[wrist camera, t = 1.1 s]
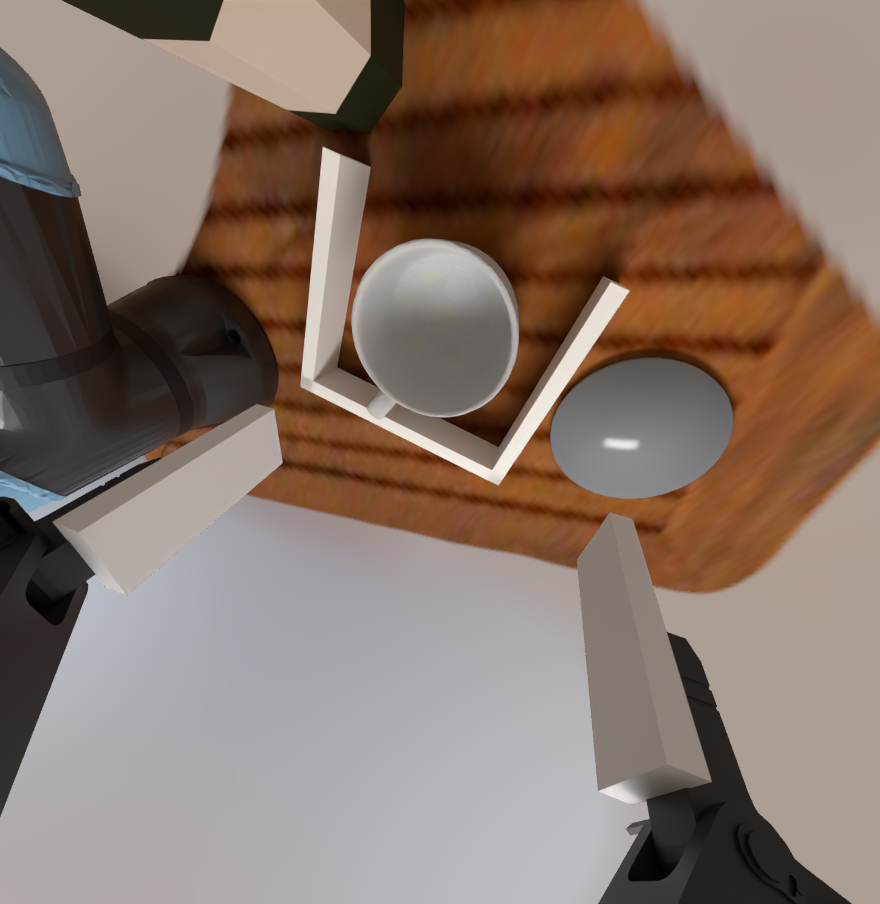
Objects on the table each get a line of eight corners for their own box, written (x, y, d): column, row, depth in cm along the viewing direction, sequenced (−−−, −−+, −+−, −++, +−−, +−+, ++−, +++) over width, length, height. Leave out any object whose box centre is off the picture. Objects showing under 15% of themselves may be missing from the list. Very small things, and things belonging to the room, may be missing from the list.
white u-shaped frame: (325, 372, 33) (300, 386, 30) (355, 160, 23) (322, 146, 20) (504, 461, 32) (498, 485, 29) (619, 283, 22) (629, 290, 19)
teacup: (472, 200, 22) (438, 184, 16) (554, 333, 25) (554, 365, 19) (353, 327, 30) (296, 350, 23) (426, 418, 32) (394, 461, 26)
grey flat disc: (524, 454, 31) (523, 458, 31) (612, 326, 24) (613, 328, 23) (646, 515, 31) (648, 519, 30) (777, 405, 23) (782, 408, 23)
